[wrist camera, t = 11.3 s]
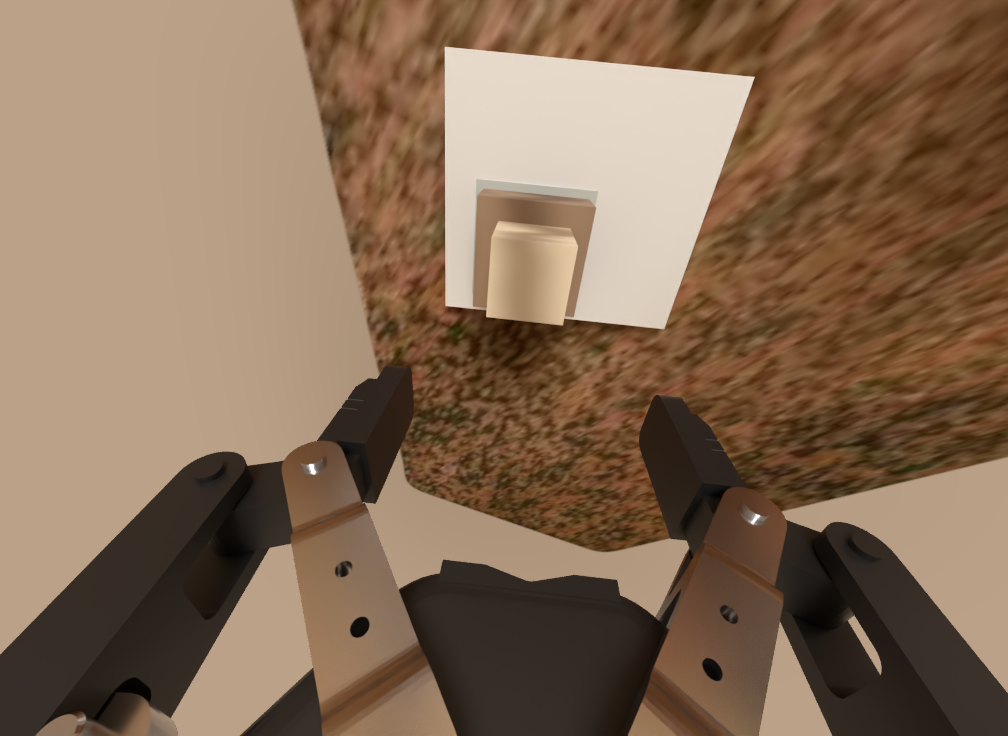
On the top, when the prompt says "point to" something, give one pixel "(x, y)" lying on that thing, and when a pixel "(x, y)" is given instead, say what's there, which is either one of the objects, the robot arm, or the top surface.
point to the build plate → (590, 165)
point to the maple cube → (530, 272)
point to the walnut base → (534, 212)
